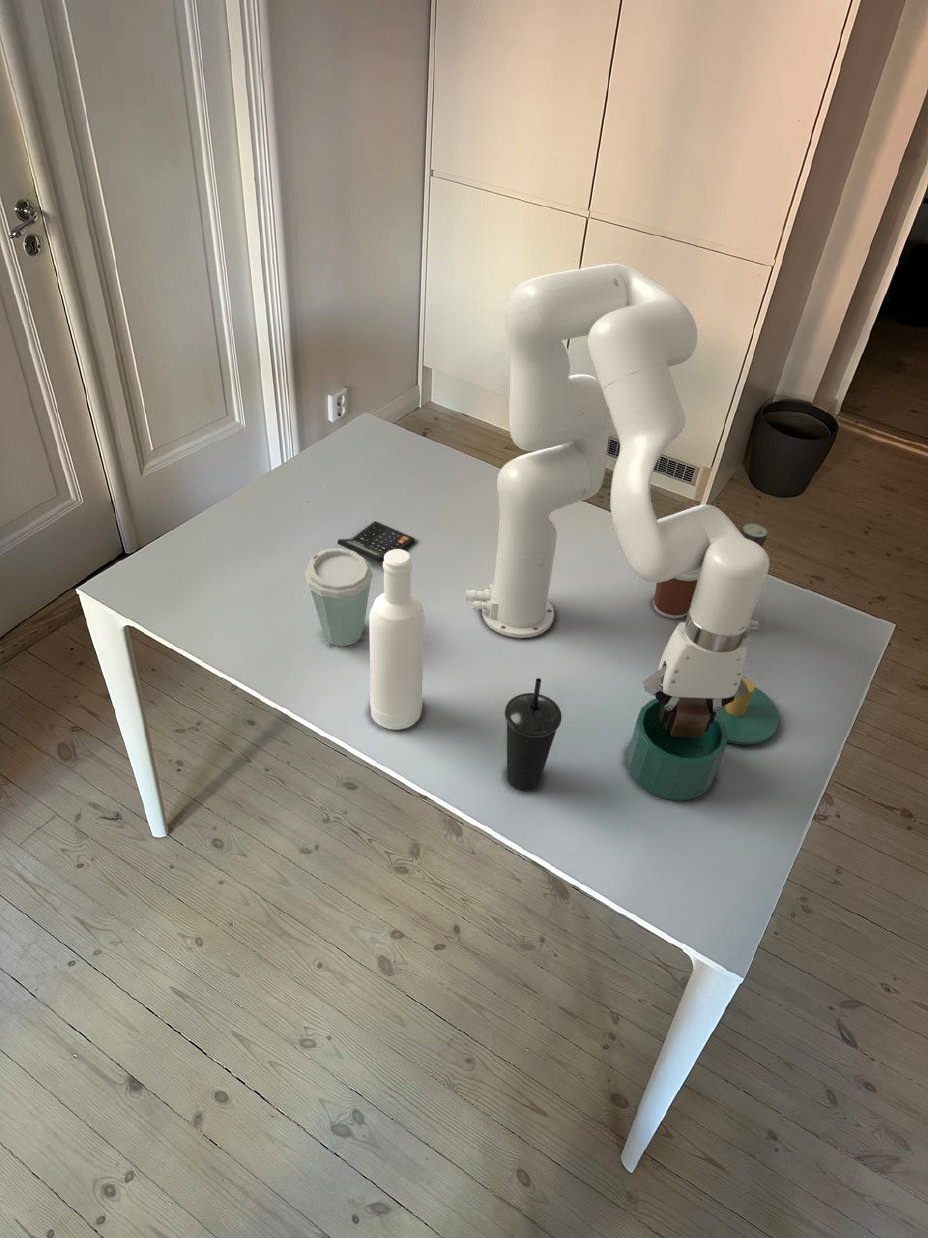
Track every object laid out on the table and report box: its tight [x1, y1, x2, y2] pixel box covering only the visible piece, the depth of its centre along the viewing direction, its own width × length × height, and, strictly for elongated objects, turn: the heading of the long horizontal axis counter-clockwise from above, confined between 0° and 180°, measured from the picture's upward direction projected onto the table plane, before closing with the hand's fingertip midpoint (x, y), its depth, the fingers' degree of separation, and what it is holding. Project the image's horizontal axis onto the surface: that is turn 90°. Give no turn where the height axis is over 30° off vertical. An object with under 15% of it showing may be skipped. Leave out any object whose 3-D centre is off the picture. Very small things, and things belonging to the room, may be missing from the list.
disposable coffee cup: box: [304, 547, 373, 647], centre depth 142 cm, size 11×11×15 cm
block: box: [670, 697, 710, 737], centre depth 122 cm, size 4×4×4 cm
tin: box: [626, 698, 728, 802], centre depth 127 cm, size 13×13×8 cm
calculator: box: [337, 521, 415, 563], centre depth 165 cm, size 9×12×3 cm
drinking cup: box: [504, 677, 563, 792], centre depth 120 cm, size 8×8×20 cm
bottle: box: [368, 549, 426, 731], centre depth 125 cm, size 8×8×30 cm
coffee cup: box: [652, 570, 701, 619], centre depth 154 cm, size 9×9×12 cm
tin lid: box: [716, 677, 780, 746], centre depth 136 cm, size 14×14×7 cm
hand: (684, 722), depth 123 cm, fingers closed on block, 4 cm apart
